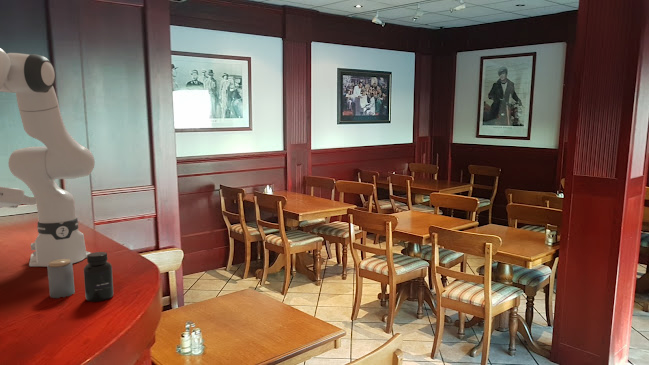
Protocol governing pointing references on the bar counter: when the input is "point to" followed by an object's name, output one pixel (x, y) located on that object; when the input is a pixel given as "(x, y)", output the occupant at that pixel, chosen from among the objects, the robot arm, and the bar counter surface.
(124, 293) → the bar counter surface
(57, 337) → the bar counter surface
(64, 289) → the sugar jar
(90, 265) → the supplement bottle
